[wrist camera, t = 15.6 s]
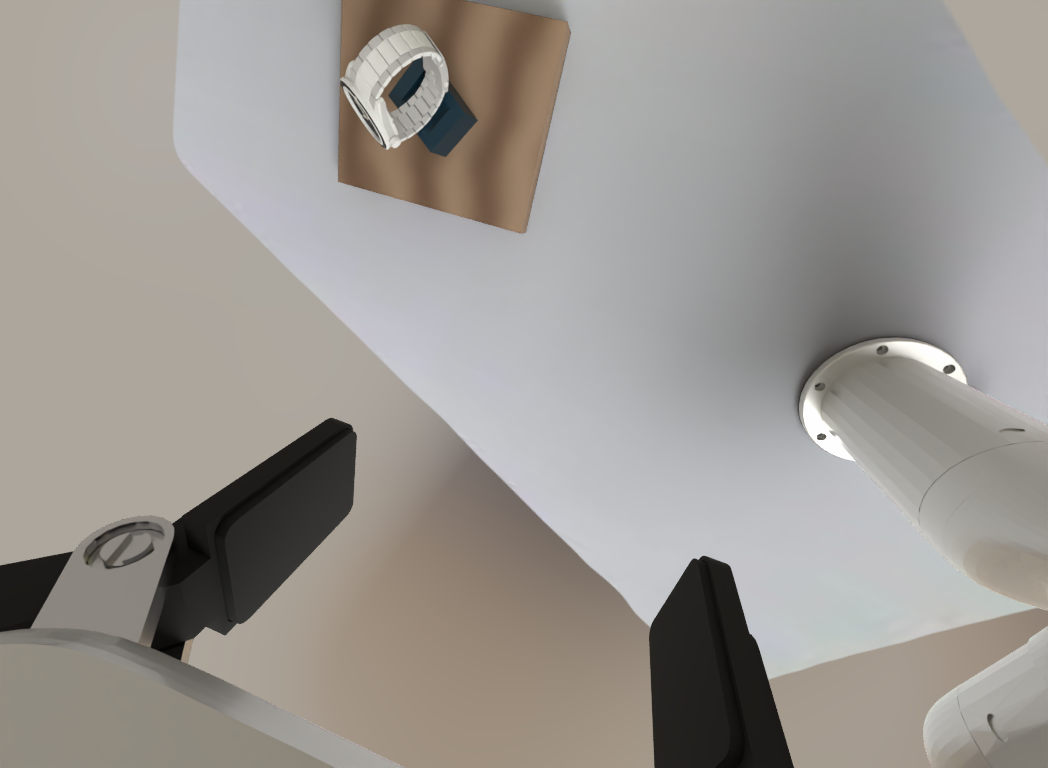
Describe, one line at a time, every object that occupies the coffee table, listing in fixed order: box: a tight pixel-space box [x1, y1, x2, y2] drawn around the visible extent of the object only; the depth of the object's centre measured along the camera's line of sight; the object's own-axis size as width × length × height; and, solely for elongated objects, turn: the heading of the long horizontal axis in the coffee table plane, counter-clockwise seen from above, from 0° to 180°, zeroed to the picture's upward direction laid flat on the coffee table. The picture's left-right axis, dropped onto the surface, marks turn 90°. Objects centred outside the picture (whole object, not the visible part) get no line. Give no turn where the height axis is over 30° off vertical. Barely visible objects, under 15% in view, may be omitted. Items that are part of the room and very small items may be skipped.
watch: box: [340, 24, 478, 157], centre depth 30 cm, size 6×8×11 cm
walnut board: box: [338, 0, 571, 233], centre depth 36 cm, size 20×16×2 cm
